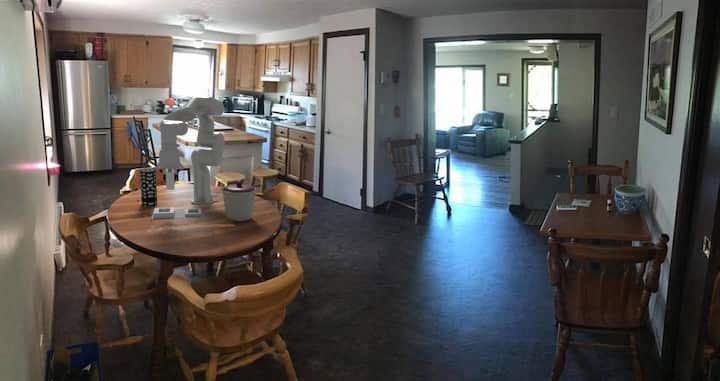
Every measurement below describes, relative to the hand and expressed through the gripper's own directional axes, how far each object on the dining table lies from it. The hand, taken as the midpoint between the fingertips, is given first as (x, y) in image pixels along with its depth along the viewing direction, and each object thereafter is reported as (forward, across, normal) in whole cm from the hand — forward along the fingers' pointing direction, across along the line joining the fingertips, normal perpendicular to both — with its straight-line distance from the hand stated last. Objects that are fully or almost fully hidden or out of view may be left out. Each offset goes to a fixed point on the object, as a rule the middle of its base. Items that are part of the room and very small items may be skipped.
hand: (170, 181), depth 276 cm
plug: (+4, 0, 0) cm, 4 cm away
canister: (+20, -34, +10) cm, 41 cm away
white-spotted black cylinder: (+20, +12, -30) cm, 37 cm away
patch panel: (+20, -4, 0) cm, 20 cm away
